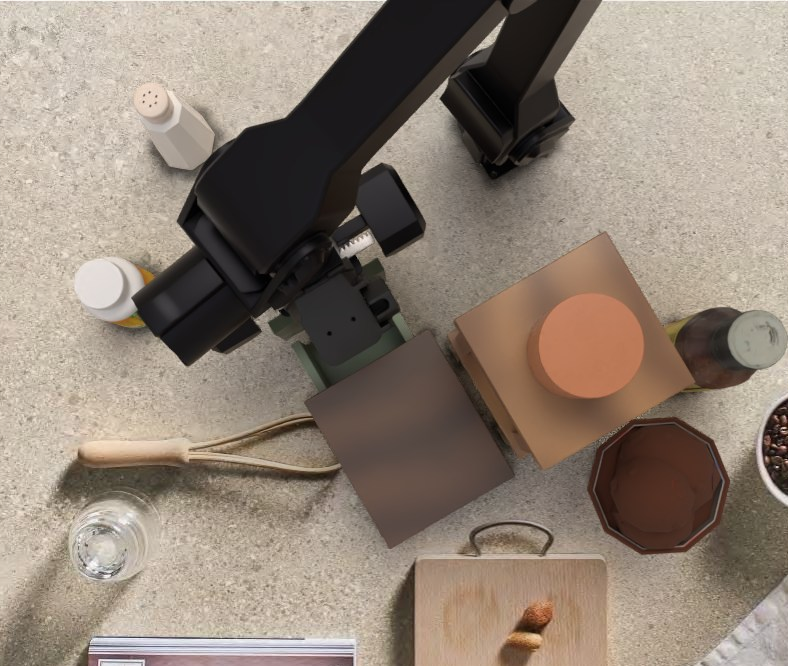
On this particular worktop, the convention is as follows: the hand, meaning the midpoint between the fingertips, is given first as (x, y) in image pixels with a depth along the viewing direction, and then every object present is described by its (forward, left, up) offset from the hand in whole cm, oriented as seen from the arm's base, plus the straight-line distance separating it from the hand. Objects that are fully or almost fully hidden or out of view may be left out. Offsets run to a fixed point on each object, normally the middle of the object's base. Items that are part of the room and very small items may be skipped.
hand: (315, 276), depth 75 cm
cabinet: (0, +16, -4) cm, 16 cm away
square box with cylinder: (-12, +16, -4) cm, 20 cm away
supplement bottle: (+15, -7, -4) cm, 17 cm away
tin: (-12, +16, +20) cm, 28 cm away
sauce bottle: (-24, +22, -4) cm, 33 cm away
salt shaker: (+4, -17, -4) cm, 18 cm away
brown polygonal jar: (-15, +29, -4) cm, 33 cm away
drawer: (0, +6, -3) cm, 7 cm away
